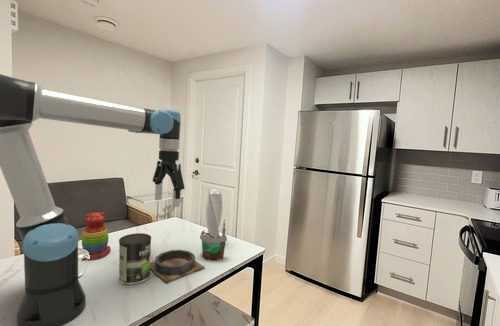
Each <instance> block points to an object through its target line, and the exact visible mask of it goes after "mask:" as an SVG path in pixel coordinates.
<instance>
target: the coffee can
mask: <svg viewBox="0 0 500 326" xmlns="http://www.w3.org/2000/svg"><path fill="white" fill-rule="evenodd" d="M118 243H119V245H118V247H119V250H118V251H119V255H118V257H119V258H118V259H119V261H118V263H119V264H118V265H119V266H118V269H119V270H118V281H119V282H120V283H121V284H123V285H125V286H126V285H139V284H141V283H144V282H146V281H148V280H149V278H150V277H151V270H150V263H151V257H152V256H151V253H152V252H151V251H152V250H151V249H152V248H151V247H152V245H151V244H152V236H151V235H150V234H147V233H141V232H140V233H137V232H136V233H129V234H127V235H123V236H121V237H120V238H119V239H118Z"/></svg>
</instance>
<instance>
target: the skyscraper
mask: <svg viewBox="0 0 500 326" xmlns="http://www.w3.org/2000/svg"><path fill="white" fill-rule="evenodd" d="M207 190H208V193H207V199H206V200H207V201H206V207H205V218H206V219H205V221H206V225H207V232H206V233H209V234H216V235H218V236H220V230H219V227H220V224H221V221H222V216H223V195H222V192H221V190H219V189H217V188H213V187H210V188H207ZM225 221H226V219H223V226H222V229H221V230H222V231H221V232H222V233H221V234H222V235H221V236H222V237H223V236H226V223H225Z"/></svg>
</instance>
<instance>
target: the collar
mask: <svg viewBox="0 0 500 326" xmlns="http://www.w3.org/2000/svg"><path fill="white" fill-rule="evenodd" d="M195 257H196V256H195V254H194V253H193V252H191V251H190V250H183V249H172V250H166V251H164V252H161V253H159V254H158V255H156V256H155V260H154V261H155V270H156V271H157V272H158V273H160V274H164V275H181V274H184V273H186V272H189V271H191V270H192V268H193V267H194V266H195V261H196V259H195ZM174 258H182V259H187V260H188V261H189V262H187V263H184V264H182V265H174V266H169V265H164V264H162V262H163V261H165V260H169V259H174Z"/></svg>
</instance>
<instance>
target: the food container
mask: <svg viewBox="0 0 500 326" xmlns="http://www.w3.org/2000/svg"><path fill="white" fill-rule="evenodd" d="M199 239H200V240H201V249H202V250H201V251H202V254H201V255H202V258H203V259H204V260H206V261H211V262H212V261H213V262H214V261H219V260H222V259H224V255H225V246H226V242H227V241H228V237H227V235H225V236H223V237H222V235H219V236H218V235H216V234H209V233H207V232H206V231H205V230H202V231H201V233H200V236H199Z"/></svg>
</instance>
